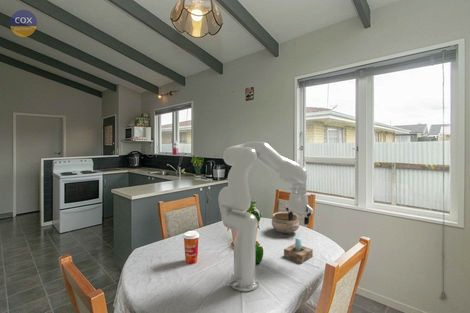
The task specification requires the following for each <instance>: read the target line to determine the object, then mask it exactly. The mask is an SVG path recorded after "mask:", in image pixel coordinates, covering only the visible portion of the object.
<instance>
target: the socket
mask: <svg viewBox="0 0 470 313" xmlns="http://www.w3.org/2000/svg"><path fill="white" fill-rule="evenodd" d="M313 252H314V249H312V248H310V247H306V246H303V245H301V252H298V251H295V243H293V244H291V245H290V246H287V247H286V248H283V257H285V258H288V259H290V260H292V261H295V262H297V263H299V264H303V263H305V262H306V261H308V260H310V259H311V258H313Z"/></svg>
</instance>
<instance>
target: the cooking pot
mask: <svg viewBox="0 0 470 313" xmlns="http://www.w3.org/2000/svg"><path fill="white" fill-rule="evenodd" d="M292 213H293V220H290V221H289V218H288V211H279V212H277V211H276V212H274V213H273V214H272V219H271V226H272V227H273V229H274V230H275V231H277V232H278V233H280V234H281V235H290V234H292V233H296V232H297V230H298V229H299V227H300V220H299V215H298V214H297V213H295V212H292Z"/></svg>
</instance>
